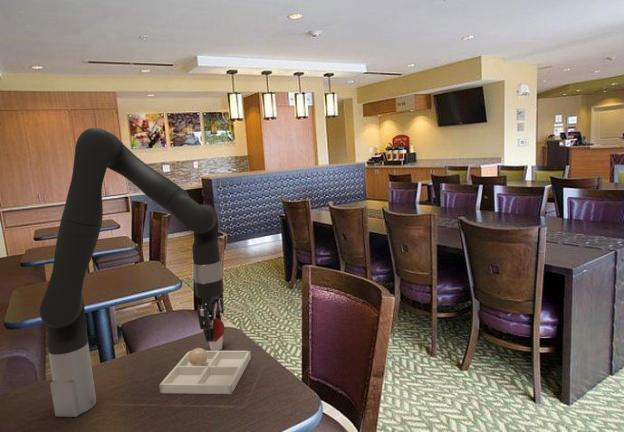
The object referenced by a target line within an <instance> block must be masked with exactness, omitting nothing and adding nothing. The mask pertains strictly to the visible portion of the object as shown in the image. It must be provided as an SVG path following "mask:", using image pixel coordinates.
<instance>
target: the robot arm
mask: <svg viewBox="0 0 624 432" xmlns="http://www.w3.org/2000/svg"><path fill="white" fill-rule="evenodd" d="M107 169H109V170H111V171H112V172H115V173H117V174H119V175H121V176H122V177H124V178H126V179H127V180H128V181H130V182H131V183H132V184H133V185H134V186H135V187H137V189H139V190H140V191H141V192H142V193H143V194H144V195H145V196H146V197H148V198H149V199H150V200H151V201H153V202H154V203H156V204H157V205H158V206H160V207H161V208H163V209H165V210H166V211H168V212H169V213H171V214H172V216H174V217H175V219H176V220H178V221H179V222H180V223H181V224H182V225H183V226H185V227H186V228H187V229H188V230H190V231H191V232H193V236H194V241H193V244H192V249H191V250H192V261H193V279H194V280H193V281H194V288H195V289H194V291H195V296H196V297H197V298H199V299H201V308H197V317H198V318H197V319H198V322H199V329H200V330H203V329H205V335H204V337H205V341H206V342H207V343H209V342H213V341H214V330H213V321H214V320H215V317H217V318H219V319H220V320H221V321H222V318H223V314H224V313H225V310H224V308H225V306H224V290H225V289H224V278H223V269H222V264H221V259H220V258H221V257H220V256H221V255H220V248H219V217H218V213H217V211H216V210H215V208H214V207H213V206H212V205H209V204H206V203H205V204H199V203H198V202H197V201H195V200H194V199H193V198H191V197H190V195H189V193H188V192H187V191H186V190H185V189H184V188H182V187H181V186H180V185H179V184H177V183H175V182H174V181H173V180H171V179H170V178H168V177H167V176H166V175H163V174H162V173H160V172H159V171H157V170H156V169H154V168H153V167H151V166H150V165H148V164H147V163H145V161H143V160H142V159H140V158H139V157H138V156H137V155H136V154H134V153H133V152H132V151H131V150H130V149H129V147H127V146H126V145H125V144H124V143H123V142H122V141H121V140H120V139H119V138H118V137H117V135H115V134H114V133H111V132H109V131H107V130H106V129H102V128H99V127H90V128H87V129H85V130H84V131H83V132H81V133H80V134H79V136H78V138H77V140H76V143H75V148H74V158H73V166H72V174H71V181H70V184H69V188H68V192H67V194H66V199H65V204H64V207H63V212H62V214H61V218H60V223H59V227H58V232H57V237H56V242H55V249H54V255H53V256H54V257H53V265H52V266H53V267H52V271H51V274H50V278H49V282H48V285H47V288H46V290H45V292H44V295H43V298H42V300H41V302H40V305H39V316H40V319H41V321H42V322H43V323H44V325H46V330H47V331H46V332H47V333H46V346H47V352H48V359H49V366H50V371H51V372H50V373H51V377H52V378H51V379H52V381H50V383H49V385H50V391H51V396H52V397H51V398H52V403H53V410H54V415H55V417H63V418H64V417H65V418H67V417H68V418H73V417H74V418H77V417H78V416H79V415H82V414H83V413H86V412H87V411H89V410H91V409H93V407H94V406H95V405H96V404H97V396H96V389H95V382H94V376H93V375H94V374H93V369H92V361H91V355H90V354H91V353H90V347H89V339H88V326H87V325H88V324H87V316H86V310H85V303H84V297H83V286H84V280H85V276H86V272H87V269H88V268H89V265H90V263H91V260H92V257H93V254H94V252H95V249H96V246H97V244H98V241H99V236H100V232H101V228H102V223H103V219H104V218H103V217H104V216H103V215H104V214H103V212H104V210H103V196H102V195H103V194H102V192H103V183H104V179H105V176H106V173H107ZM211 315H212V316H211ZM206 323H207V324H206Z"/></svg>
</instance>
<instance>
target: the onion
mask: <svg viewBox="0 0 624 432" xmlns="http://www.w3.org/2000/svg"><path fill="white" fill-rule="evenodd" d="M211 316H212V315H210V317H211ZM222 321H223V320H222V319H221V320H220V319H219V318H217V317H215V320H214V321H213V330H214V341H213V342H216V341H218V339H219V338H221V336H222V335H223V336H224V333H225V327H226V326H225V324H224V321H223V322H222ZM206 324H207V323H206ZM202 333H203V335H204V336H205V329H202Z"/></svg>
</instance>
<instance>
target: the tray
mask: <svg viewBox="0 0 624 432" xmlns="http://www.w3.org/2000/svg"><path fill="white" fill-rule="evenodd" d="M192 351H193V350H188V352H186V353H185V355H184V356H183V357H182V358H181V359H180V360H179V362H177V363H176V365H175V366H174V367H173V369H172V370H171V371H170V372H169V373H168V375H166V377H164V379H163V380H162V381H161V382H160V383H159V385H158V386H159V393H160V394H193V395H194V394H199V395H201V394H202V395H232V394H233V392H234V391H235V388H236V387H237V385H238V383H239V381H240V379H241V378H242V375H243V373H244V371H246V368H247V367H248V365H249V362H250V361H251V359H252V354H251V350H219V351H211V350H205V351H206V352H207V355H208V358H207V361H206V363H205V364H204V365H203V366H193V365H191V363H190V362H189V355H190V353H191V352H192Z"/></svg>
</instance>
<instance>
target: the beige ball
mask: <svg viewBox="0 0 624 432" xmlns="http://www.w3.org/2000/svg"><path fill="white" fill-rule="evenodd" d="M191 351H192V352H191V353H190V355H189V362H190V363H191V365H193V366H203V365H204V364H205V363H206V361H207V358H208V355H207V352H206V351H207V350H205V349H204V348H201V347H197V348H194V349H192V350H191Z"/></svg>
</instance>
